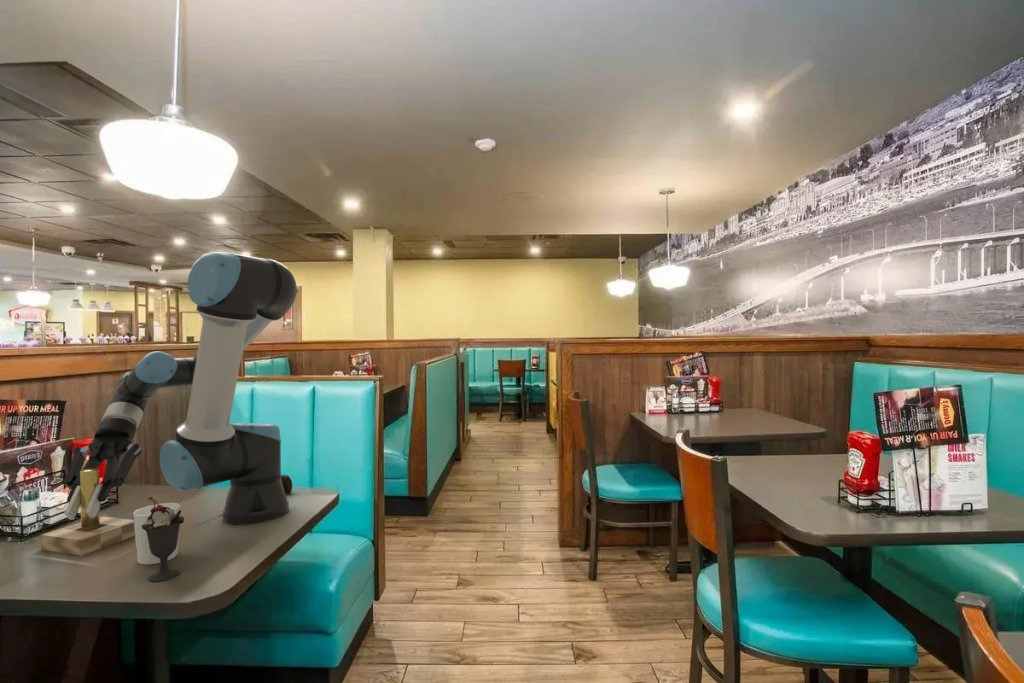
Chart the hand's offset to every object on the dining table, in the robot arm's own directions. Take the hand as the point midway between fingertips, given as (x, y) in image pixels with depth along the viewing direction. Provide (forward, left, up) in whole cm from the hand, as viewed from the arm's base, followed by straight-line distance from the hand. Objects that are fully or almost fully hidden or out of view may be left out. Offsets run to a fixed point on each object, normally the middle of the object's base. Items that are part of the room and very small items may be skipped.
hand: (79, 515), depth 110 cm
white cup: (-20, -1, -8) cm, 22 cm away
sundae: (-29, +5, -8) cm, 31 cm away
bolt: (-10, -40, -8) cm, 42 cm away
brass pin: (+2, -3, -3) cm, 5 cm away
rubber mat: (+9, -15, -7) cm, 19 cm away
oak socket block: (+2, -3, -7) cm, 8 cm away
